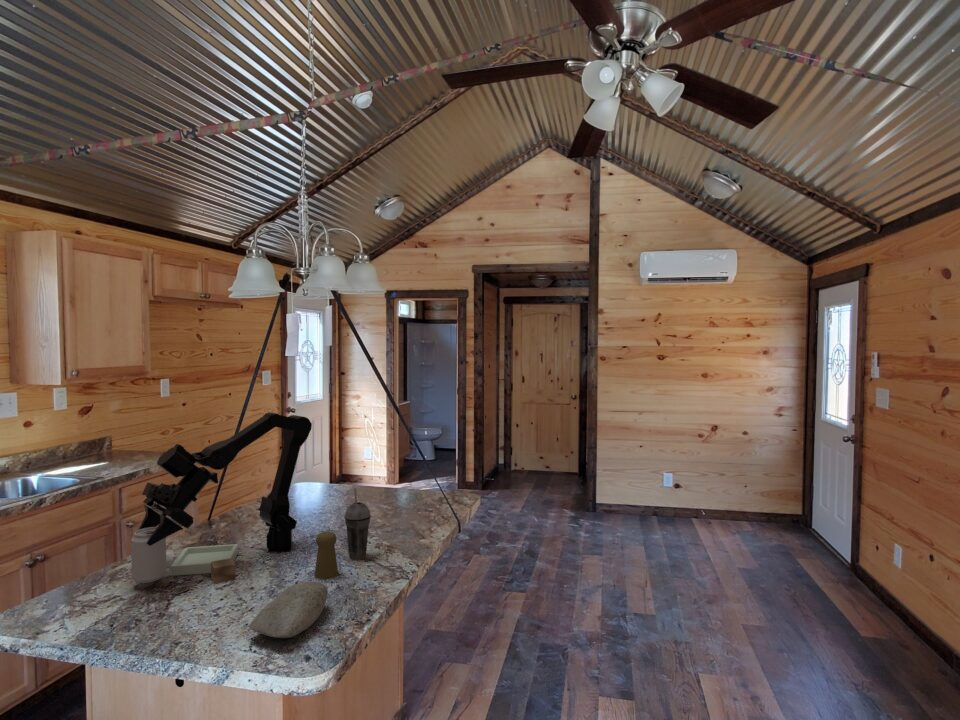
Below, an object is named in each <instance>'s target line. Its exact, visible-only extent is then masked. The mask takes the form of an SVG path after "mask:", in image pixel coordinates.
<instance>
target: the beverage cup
mask: <svg viewBox="0 0 960 720" xmlns="http://www.w3.org/2000/svg"><path fill="white" fill-rule="evenodd" d="M353 489H354V491H353V492H354V502H353V503H351V504H350V505H349V506H348V507H347V508H346V510H345V514H344V521H345V525H346V534H347V537H346V538H347V547H348V549H347V550H348V555H349V557H348V558H349V559H350V560H352V561H360V560H364V559H365V558H366V556H367V549H368V539H369V538H368V537H369V536H368V535H369V525H370V521H371V517H372V516H371V512H370V509H369V507H368V506H367V505H366V503H363V502H361V501H358V497H357V495H358V494H357V487H354V488H353Z"/></svg>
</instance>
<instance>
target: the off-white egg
mask: <svg viewBox="0 0 960 720" xmlns="http://www.w3.org/2000/svg"><path fill="white" fill-rule="evenodd" d="M174 557H175V556H174V550H172V549H166V569H169V568H170V566H171V565H172V564H173V562H174V561H175V559H174Z"/></svg>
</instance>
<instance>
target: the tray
mask: <svg viewBox="0 0 960 720" xmlns="http://www.w3.org/2000/svg"><path fill="white" fill-rule="evenodd" d="M238 553H239V544H238V543H234V544H231V543H230V544H218V545H217V544H216V545H202V546H190V547H189V546H188V547H185V548H184V549H183V550H182V551H181V552H180V553H179V555H178V556H177V557H176V559H174V562H173V564H172V565H171V566H170V567H169V568H170V569H169V571H170V572H169V574H170V577H176V576H187V575H190V576H191V575H200V574H211V562H213V561H219V560H224V559H229V558H232V559H233V561H234V562H235V560H236V558H237V555H238Z"/></svg>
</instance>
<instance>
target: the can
mask: <svg viewBox="0 0 960 720" xmlns="http://www.w3.org/2000/svg"><path fill="white" fill-rule="evenodd" d="M157 527H158V526H156V527H149V528H144V529H140V530H139V529H137V530H136V531H134V532H133V536H132V537H131V538H130V547H131V548H130V551H131V552H130V553H131V554H130V555H131V556H130V557H131V579H132V580H134V581H135V582H136V583H139V584H140V583H141V584H145V583H152V582H156V581H158V580H160V579H162V578H163V577H164V575H166V573H167V568H166V550H167V537H165V538H164V539H162V540H160V541H158V542H156V543H155V544H153V545H151V546H149V545H148V544H147V542H148V540H149V538H150V537H151V535H152V534H153V533H154V531H155V530H156V528H157Z"/></svg>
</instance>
